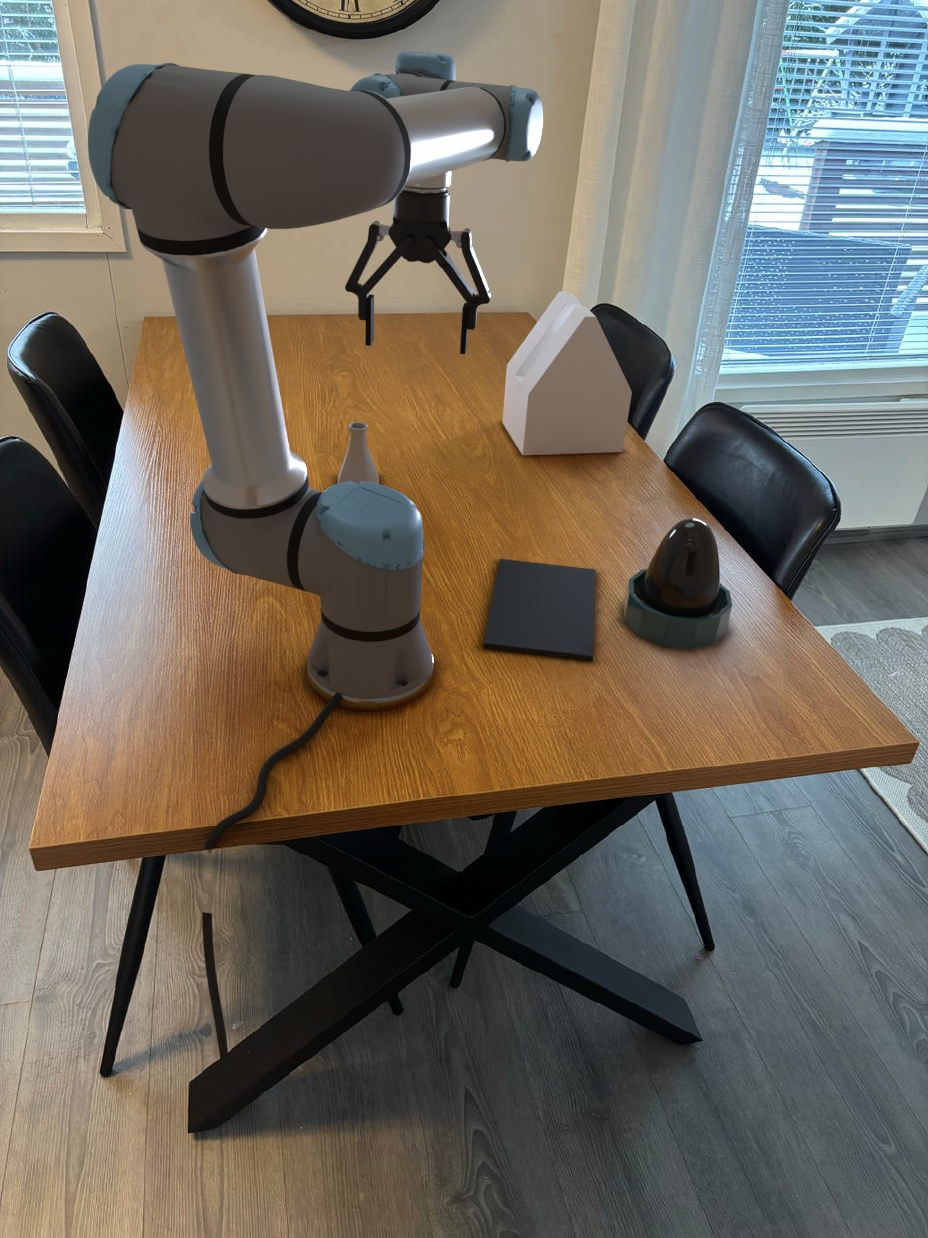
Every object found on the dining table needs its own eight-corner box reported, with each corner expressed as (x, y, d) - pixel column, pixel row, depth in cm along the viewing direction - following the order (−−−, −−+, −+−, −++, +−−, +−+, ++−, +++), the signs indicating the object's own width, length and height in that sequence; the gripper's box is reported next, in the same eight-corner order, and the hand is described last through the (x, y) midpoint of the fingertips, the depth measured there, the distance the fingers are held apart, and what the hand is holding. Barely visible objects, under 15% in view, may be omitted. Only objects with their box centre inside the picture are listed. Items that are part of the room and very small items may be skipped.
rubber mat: (592, 661, 123) (593, 656, 122) (483, 648, 124) (483, 643, 123) (594, 573, 141) (595, 569, 140) (499, 563, 142) (499, 558, 141)
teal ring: (729, 654, 126) (736, 625, 123) (624, 642, 127) (629, 613, 124) (719, 599, 137) (726, 572, 134) (623, 588, 138) (628, 561, 135)
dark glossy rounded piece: (631, 632, 129) (649, 531, 120) (642, 593, 137) (660, 497, 129) (708, 648, 126) (732, 547, 118) (714, 608, 135) (737, 511, 126)
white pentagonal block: (522, 455, 175) (535, 316, 161) (502, 422, 187) (513, 291, 173) (622, 451, 179) (643, 316, 165) (596, 419, 191) (614, 291, 177)
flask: (373, 493, 159) (373, 436, 153) (331, 487, 160) (329, 430, 154) (384, 475, 164) (385, 420, 159) (344, 469, 165) (343, 414, 160)
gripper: (517, 190, 130) (504, 346, 141) (334, 175, 131) (336, 331, 142) (514, 200, 123) (501, 362, 135) (322, 184, 124) (325, 347, 136)
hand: (416, 347), depth 139 cm, fingers open, 13 cm apart
